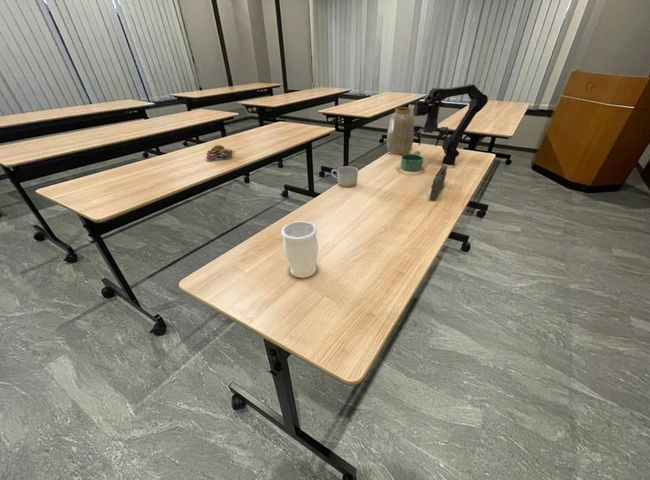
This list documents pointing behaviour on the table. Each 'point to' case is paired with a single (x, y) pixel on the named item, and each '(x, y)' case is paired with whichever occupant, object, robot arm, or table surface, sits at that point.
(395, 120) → the vase
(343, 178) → the teacup
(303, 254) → the jar
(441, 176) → the handheld gaming console
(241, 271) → the table surface
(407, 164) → the pot
